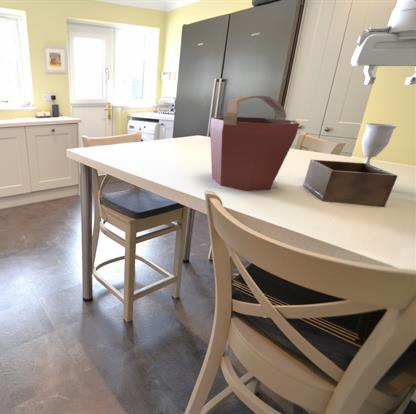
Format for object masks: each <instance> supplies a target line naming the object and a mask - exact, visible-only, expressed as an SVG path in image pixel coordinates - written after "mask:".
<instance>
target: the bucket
mask: <svg viewBox="0 0 416 414" xmlns="http://www.w3.org/2000/svg"><path fill="white" fill-rule="evenodd" d="M251 99H260V100H262V101H263V102H264V103H266V104H267V105H268V106H269V107H271V108H272V109H273V111H274V113H275V118H271V117H254V116H253V117H252V116H238V114H239V113H240V106H241V105H240V104H241V103H242V102H243V101H247V100H251ZM227 103H228V104H227V111H226V112H225V113H224V115H223V116H217V117H211V119H210V124H209V135H210V136H209V140H210V158H211V160H210V161H211V178H212V180H214V181H215V182H216V183H217V184H218V185H219V186H222V187H228V188H232V189H238V190H242V191H247V192H248V191H264V190H266V191H267V190H271V188H272V186H273V184H274V182H275V180H276V178H277V176H278V174H279V173H280V169H281V167H282V166H283V163H284V161H285V160H286V157H287V155H288V153H289V151H290V149H291V147H292V145H293V143H294V141H295V139H296V137H297V134H298V130H299V126H300V123H299V122H298V121H296V120H292V119H287V113H286V110H285V107H284V106H283V105H282V104H280V103H279V102H278V101H277V100H275V98H273V97H271V96H267V95H243V96H237V97H234V98H231V99H229V100H228V102H227Z"/></svg>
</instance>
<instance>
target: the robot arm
mask: <svg viewBox="0 0 416 414" xmlns="http://www.w3.org/2000/svg"><path fill="white" fill-rule="evenodd" d="M350 65H351V66H352V67H364V68H363V74H364V76H365V77H364V78H365V80H364V82H363V83H364V85H374V84H375V81H376V79H377V77H376V76H373V72H372V71H375V68H376V67H415V68H414V71H415V72H414V74H412V75H411V76H410V77H406V79H405V82H404V85H406V86H407V85H408V86H409V85H411V86H414V85H416V0H397V2H396V5H395V7H394V9H393V10H392V12H391V14H390V17H389V20H388V23H387V26H379V27H376V26H374V27H373V26H371V27H368V28H367V29H365V30H363V31H362V32H361V33H360V34H359V37H358V40H357V46H356V47H355V50H354V52H353V55H352V57H351V61H350Z"/></svg>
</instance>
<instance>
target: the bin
mask: <svg viewBox="0 0 416 414" xmlns="http://www.w3.org/2000/svg"><path fill="white" fill-rule="evenodd" d="M397 178H398V175H397V174H394V173H392V172H389V171H387V170H384V169H381V168H379V167H377V166H375V165H372V164H370V165H369V164H367V163H364V162H357V161H356V162H355V161H342V160H341V161H338V160H325V159H310V160H309V164H308V167H307V171H306V176H305V178H304V180H303V187H304V188H306V189H307V190H308V191H309V192H311V193H312V195H315V197H317V198H318V199H319V200H321V201H322V202H330V203H342V204H352V205H361V206H363V205H364V206H373V207H386V205H387V202H388V200H389V198H390V195H391V193H392V190H393V188H394V186H395V183H396V181H397Z"/></svg>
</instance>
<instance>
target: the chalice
mask: <svg viewBox="0 0 416 414" xmlns="http://www.w3.org/2000/svg"><path fill="white" fill-rule="evenodd" d="M365 127H366V128H365V131H364V134H363V136H362V139H361V148H362V149H361V150H362V152H363V156H364V157H366V159H365V161H364V162H363V163H367V164H369V165H371V159H372V158H375V157H377V156H378V155H380V153H381V152H382V151H384V150H385V148H386V147H387V146H388V145H389V143H390V140H391V138H392V135H393V132H394V131H395V129H396V128H398V124H397V125H396V124H388V123H374V122H373V123H372V122H371V123H365Z"/></svg>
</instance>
